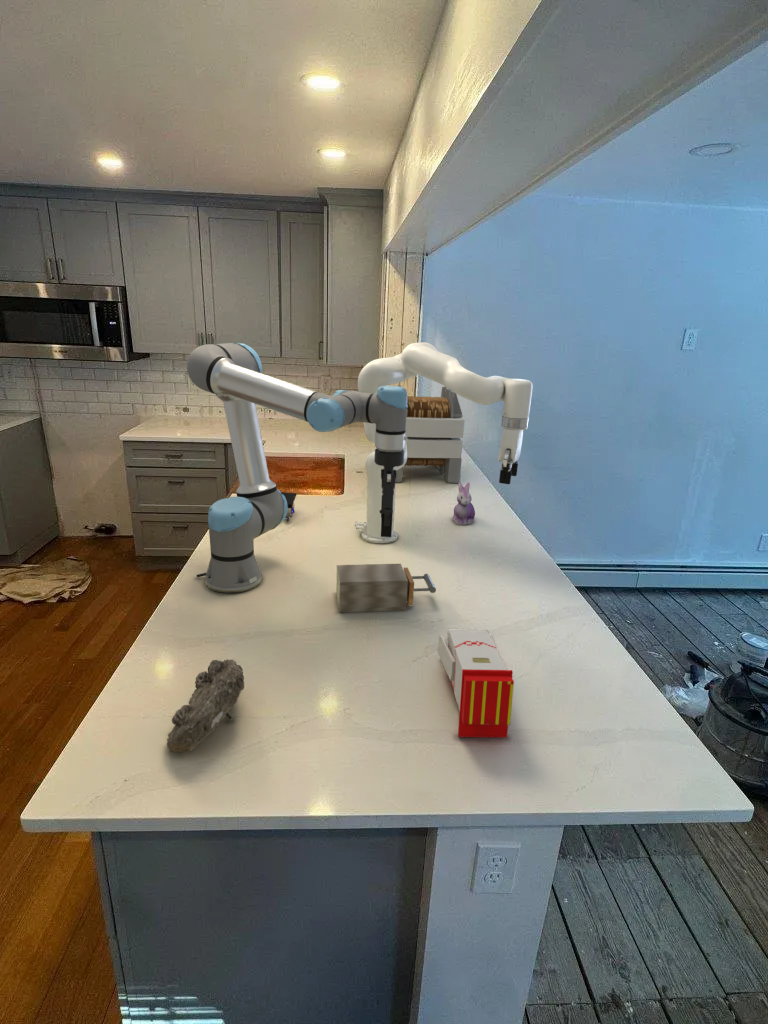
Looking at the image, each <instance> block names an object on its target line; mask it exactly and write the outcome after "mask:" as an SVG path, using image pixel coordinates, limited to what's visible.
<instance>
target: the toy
mask: <svg viewBox="0 0 768 1024" xmlns="http://www.w3.org/2000/svg"><path fill="white" fill-rule="evenodd" d="M446 640H447V643H446V641H445V639H444V636H443V635H442V634H439V637H438V646H437V656H438V657H439V659H440V661H441V663H442V666H443V668H444V670H445V672H446V674H447V677H448V679H449V681H450V684H451V687H452V690H453V693H454V697H455V701H456V705H457V708H458V711H459V714H458V715H459V716H458V730H457V731H458V732H457V737H458V738H508V731H509V726H510V725H511V717H512V707H513V697H514V696H513V695H514V684H515V680H514V679H513V673H514V671H513V670H512V669H508V667H507V665H506V662H505V661H504V659H503V658H502V655H501V653H500V651H499V649H498V647H497V643H496V639H495V637H494V635H493V634H491V632H490V631H489V629H467V628H466V629H465V628H463V629H461V628H460V629H459V628H448V630H447V639H446Z"/></svg>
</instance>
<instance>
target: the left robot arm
mask: <svg viewBox="0 0 768 1024" xmlns="http://www.w3.org/2000/svg"><path fill="white" fill-rule="evenodd" d="M186 372H187V375H188V378H189V379H190V381H191V382H192V383H193V384H194V386H196V387H197V388H199V389H200V390H203V391H205V392H208V393H210V394H212V395H215V397H216V398H217V399H219V400H220V401H222V403H223V408H224V413H225V418H226V422H227V428H228V432H229V433H228V434H229V437H230V443H231V447H232V448H231V449H232V452H233V458H234V462H235V467H236V473H237V476H238V481H239V486H238V487H237V488H236V489H235V493H236V496H229V497H228V498H227V497H224V498H221V499H217V501H215V502H214V503H212V504H211V505H210V506H209V509H208V517H207V525H208V534H209V547H210V549H209V550H210V560H209V563H208V566H207V570H206V572H202V573H198V574H196V578H202V577H205V584H206V587H208V589H210V590H211V591H214V592H216V593H222V594H237V593H244V592H247V591H250V590H252V589H254V588H256V587H258V586H259V585H260V584H261V582H262V572H261V568H260V566H259V564H258V561H257V558H256V556H255V542H254V540H255V539H256V538H258V537H261V536H262V535H264V534H266V533H267V532H269V531H272V530H274V529H276V528H277V527H278V526H279V525H281V524H282V523H283V522H284V521H285V520H286V519H285V517H286V515H287V511H288V505H287V501H286V498H285V496H284V495H282V494H281V492H282V491H281V490H279V489H278V488H277V484H276V482H274V481H273V480H272V479H270V474H269V469H268V465H267V459H266V453H265V448H264V442H263V437H262V431H261V426H260V421H259V415H258V411H257V406H256V405H258V406H260V407H262V408H263V407H264V408H266V409H269V410H271V411H275V412H278V413H281V414H283V415H287V416H290V417H292V418H295V419H299V420H301V421H303V422H307V423H308V425H309V426H310V427H311V428H312V429H313V430H315V431H316V432H320V433H327V432H328V433H329V432H333V431H336V430H338V429H340V428H342V427H345V426H348V425H352V424H354V423H357V422H358V423H364V422H366V423H372V424H373V423H375V424H376V432H375V444H374V447H375V449H376V450H375V449H374V450H375V463H376V464H377V465H380V466H384V469H381V479H382V486H381V487H382V489H383V490H382V493H383V495H382V505H381V510H380V512H379V513H381V518H382V519H381V537H391V534H392V515H393V495H394V491H393V489H394V488H395V486H396V482H395V480H396V470H393V468H394V467H396V466H397V467H398V466H401V465H403V463H404V450H403V448H404V446H405V441H404V440H407V439H408V438H407V436H405V432H406V417H407V408H408V405H407V396H408V391H407V389H406V388H405V387H402V386H401V387H398V385H386V386H380V387H379V388H378V390H377V393H366V392H359V390H358V391H357V390H352V389H338V390H335V392H334V394H332V395H328V394H326V393H323V392H320V391H317V390H314V389H310V388H308V387H305V386H302V385H298V384H295V383H292V382H290V381H286V380H283V379H280V378H277V377H275V376H271V375H268V374H265V373H262V372H263V364H262V360H261V358H260V356H259V354H258V353H257V352H256V349H255V350H254V349H253V348H252V347H251V346H250V345H248V344H246V343H242V342H226V343H213V344H212V343H207V344H202V345H200V346H197V347H196V348H194V349H193V350H192V351H191V353H190V354H189V356H188V358H187V360H186Z"/></svg>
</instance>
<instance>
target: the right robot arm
mask: <svg viewBox="0 0 768 1024" xmlns="http://www.w3.org/2000/svg"><path fill="white" fill-rule="evenodd" d="M416 376H421V377H423V378H426V379H428V380H431V381H433V382H435V383H438V384H439V385H442V386H443V387H446V388H447V389H450V390H451V391H452V392H454V393H456V395H457V396H458V397H461V398H464V399H466V400H469V401H471V402H472V403H475V404H479V405H483V406H490V405H492V404H495V403H499V402H503V405H502V413H501V425H500V427H501V429H503V430H502V434H501V440H500V446H499V451H498V457H497V458H498V459H497V460H498V462H499V463H501V466H500V469H499V470H500V471H499V479H498V483H499V484H504V485H510V484H511V481H512V477H517V476H518V467H519V459H520V456H521V452H522V446H523V438H524V431H526V430H528V426H529V425H528V424H529V420H530V412H531V411H530V410H531V402H532V396H533V388H534V387H533V386H534V385H533V382H532V381H531V380H529V379H525V378H509V377H504V376H501V375H490V376H488V377H485V376H482V375H480V374H477V373H475V372H473V371H471V370H469V369H467V368H465V367H463V365H461V364H460V362H459V360H458V358H456V357H454V356H451V355H448V354H446V353H444V352H441V351H439V350H437V348H436V347H435V346H434V345H433V344H432V343H429V342H425V341H423V342H422V341H421V342H420V341H419V342H412V343H409V344H408V345H406V346H405V347H404V348H403V350H402V352H400V353H399V354H397V355H394V356H390V357H379V358H376V359H373V360H371V361H369V362H368V363H366V364H365V365H364V366H363V368H362V369H361V370H360V372H359V373H358V377H357V390H358V392H366V393H377V390H378V388H379V387H380V386H392V385H396V384H400V383H403V382H404V381H407V380H409V379H411V378H413V377H416ZM363 429H364V434H365V437H366V439H367V440H368V441H369V442H370V443H371V444H374V445H375V432H376V424H375V423H373V424H372V423H366V422H363ZM404 441H405V446H404V448H403V450H404V463H403V465H401V466H398V467H397V466H396V467H394V468H393V470H396V471H397V470H399V469H400V468H402V467H403V466H404V467H405V466H406V465H405V463H406V461H407V446H406V440H404ZM375 450H376V448H374V449H373V450H371V451H370V452H369V454H368V455H367V457H366V459H365V471H366V480H367V481H366V482H367V483H366V519H365V520H366V521H364V522H362V521H355V522H354V527H355V529H356V530H361V534H360V535H361V538H362V539H363V540H364V541H366V542H368V543H373V544H389V543H393V542H395V541H397V540H398V537H399V534H398V532H397V531H396V530H395V528H394V527H395V510H396V509H395V508H396V507H395V506H396V491H397V490H396V488H397V487H396V485H395V488H394V489H393V491H394V495H393V515H392V534H391V537H381V519H382V518H381V513H379V512H380V510H381V505H382V495H383V493H382V490H383V489H382V487H381V486H382V479H381V469H384V466H380V465H377V464H376V463H375Z"/></svg>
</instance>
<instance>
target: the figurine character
mask: <svg viewBox="0 0 768 1024" xmlns="http://www.w3.org/2000/svg"><path fill="white" fill-rule="evenodd" d="M281 494H282V495H284V496H285V498H286V501H287V505H288V511H287V515H286V517H285V519H284V520H286V522H289V520H290V519H291V518H292V517H293V515H294V514H295V513H296V510H295V500H296V498H297V494H298V493H295V492H282V491H281Z"/></svg>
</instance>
